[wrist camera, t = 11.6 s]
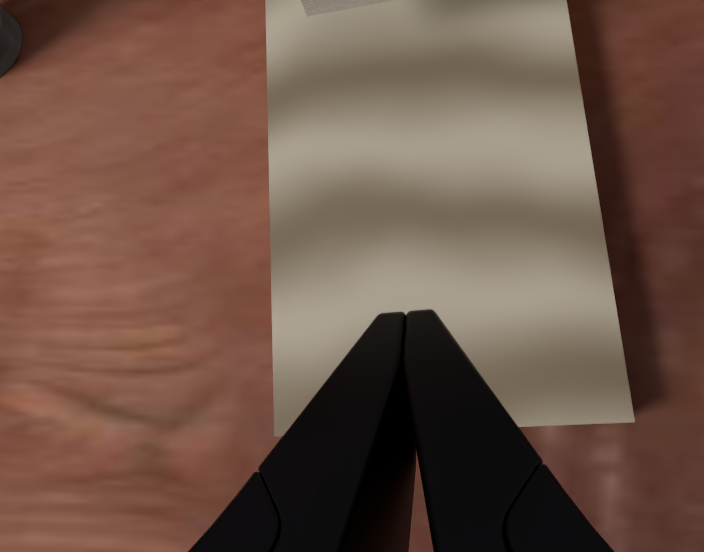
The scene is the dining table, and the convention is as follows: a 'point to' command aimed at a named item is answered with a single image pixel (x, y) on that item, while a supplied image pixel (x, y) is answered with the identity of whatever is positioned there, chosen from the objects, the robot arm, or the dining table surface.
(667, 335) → the dining table surface
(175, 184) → the dining table surface
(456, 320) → the l-shaped wooden stand
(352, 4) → the grey cube
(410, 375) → the robot arm
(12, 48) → the beverage cup
